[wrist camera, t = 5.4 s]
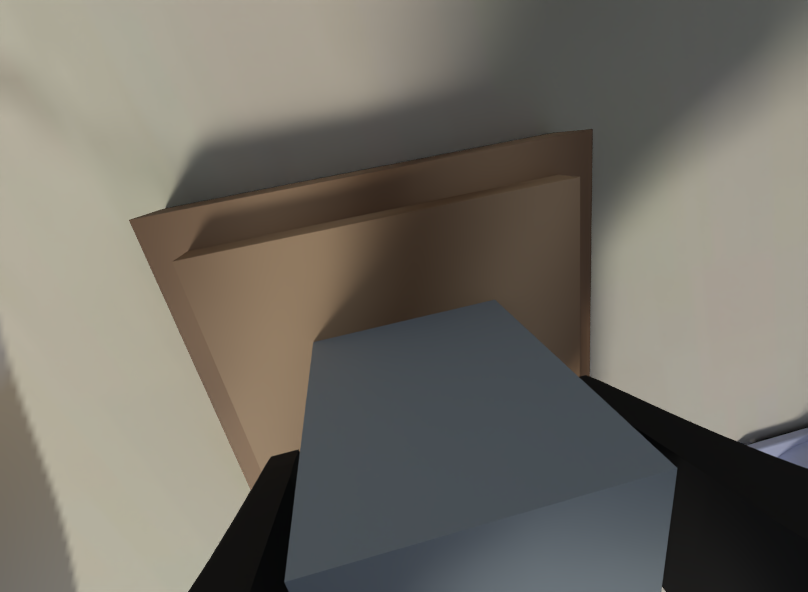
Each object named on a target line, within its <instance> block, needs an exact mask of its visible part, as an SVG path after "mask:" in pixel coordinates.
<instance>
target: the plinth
mask: <svg viewBox="0 0 808 592" xmlns="http://www.w3.org/2000/svg"><path fill="white" fill-rule="evenodd" d="M592 140H593V129H589V130H578V131H567V132H556V133H550V134H544V135H539V136H534V137H529V138H524V139H519V140H514V141H509V142H503V143H498V144H493V145H488V146H483V147H478V148H473V149H468V150H462V151H457V152H452V153H447V154H442V155H437V156H432V157H427V158H421V159H416V160H411V161H406V162H401V163H396V164H391V165H385V166H380V167H375V168H370V169H365V170H360V171H355V172H350V173H344V174H339V175H334V176H329V177H324V178H319V179H314V180H309V181H303V182H298V183H293V184H288V185H283V186H278V187H273V188H268V189H262V190H257V191H252V192H247V193H242V194H237V195H232V196H227V197H221V198H216V199H211V200H206V201H201V202H196V203H191V204H186V205H180V206H175V207H170V208H165V209H162V210H158V211H155V212H152V213H149V214H146V215H143V216H140V217H137V218H134V219H131V220H129V221H130V223H131V226H132V228H133V230H134V232H135V234H136V237H137V239H138V241H139V243H140V245H141V248H142V250H143V252H144V254H145V257H146V259H147V261H148V263H149V265H150V268H151V270H152V272H153V274H154V277H155V279H156V281H157V283H158V285H159V288H160V290H161V292H162V294H163V296H164V299H165V301H166V303H167V305H168V308H169V310H170V312H171V314H172V316H173V319H174V321H175V323H176V325H177V328H178V330H179V332H180V334H181V336H182V339H183V341H184V343H185V345H186V347H187V350H188V352H189V354H190V356H191V359H192V361H193V363H194V365H195V367H196V370H197V372H198V374H199V376H200V379H201V381H202V383H203V385H204V387H205V390H206V392H207V394H208V396H209V398H210V401H211V403H212V405H213V407H214V410H215V412H216V414H217V416H218V418H219V421H220V423H221V425H222V427H223V430H224V432H225V434H226V436H227V438H228V441H229V443H230V445H231V447H232V450H233V452H234V454H235V456H236V458H237V461H238V463H239V465H240V467H241V469H242V472H243V474H244V476H245V478H246V481H247V483H248V485H249V487H250V489H252V487H253V486H254V484H255V482H256V480H257V479H258V477H259V475H260V474H261V472H262V470H263V468H264V467H265V465H266V463H267V462H268V460H269V459H270V457H271V456H275V455H279V454H283V453H287V452H290V451H294V450H298V449H299V451H300V447H301V439H302V431H303V422H304V414H305V406H306V397H307V389H308V381H309V372H310V364H311V356H312V348H313V342H316V341H320V340H324V339H329V338H333V337H337V336H342V335H346V334H350V333H354V332H359V331H363V330H367V329H371V328H376V327H380V326H384V325H389V324H393V323H397V322H401V321H406V320H410V319H414V318H418V317H423V316H427V315H431V314H436V313H440V312H444V311H448V310H453V309H457V308H461V307H465V306H470V305H474V304H478V303H483V302H487V301H491V300H496V301H497V302H498V303H499V304H500V305H501V306H502V307H503V308H505V309H506V310H507V311H508V312H509V313H510V314H511V315H512V316H513V317H514V318H515V319H516V320H518V321H519V322H520V323H521V324H522V325H523V326H524V327H525V328H526V329H527V330H528V331H529V332H531V333H532V334H533V335H534V336H535V337H536V338H537V339H538V340H539V341H540V342H541V343H542V344H544V345H545V346H546V347H547V348H548V349H549V350H550V351H551V352H552V353H553V354H554V355H555V356H557V357H558V358H559V359H560V360H561V361H562V362H563V363H564V364H565V365H566V366H567V367H568V368H570V369H571V370H572V371H573V372H574V373H575V374H576V375H577V376H578V377H580V376H584V375H587V376H589V375H590V297H591V218H592Z"/></svg>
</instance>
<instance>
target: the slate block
mask: <svg viewBox="0 0 808 592" xmlns="http://www.w3.org/2000/svg"><path fill="white" fill-rule="evenodd" d="M676 476H677V467H676V466H675V465H674V464H672V463H671V462H670V461H669V460H668V459H667V458H666V457H665V456H664V455H663V454H662V453H661V452H659V451H658V450H657V449H656V448H655V447H654V446H653V445H652V444H651V443H650V442H649V441H648V440H646V439H645V438H644V437H643V436H642V435H641V434H640V433H639V432H638V431H637V430H636V429H635V428H633V427H632V426H631V425H630V424H629V423H628V422H627V421H626V420H625V419H624V418H623V417H622V416H620V415H619V414H618V413H617V412H616V411H615V410H614V409H613V408H612V407H611V406H610V405H609V404H607V403H606V402H605V401H604V400H603V399H602V398H601V397H600V396H599V395H598V394H597V393H596V392H594V391H593V390H592V389H591V388H590V387H589V386H588V385H587V384H586V383H585V382H584V381H583V380H581V379H580V378H579V377H578V376H577V375H576V374H575V373H574V372H573V371H572V370H571V369H570V368H568V367H567V366H566V365H565V364H564V363H563V362H562V361H561V360H560V359H559V358H558V357H557V356H555V355H554V354H553V353H552V352H551V351H550V350H549V349H548V348H547V347H546V346H545V345H544V344H542V343H541V342H540V341H539V340H538V339H537V338H536V337H535V336H534V335H533V334H532V333H531V332H529V331H528V330H527V329H526V328H525V327H524V326H523V325H522V324H521V323H520V322H519V321H518V320H516V319H515V318H514V317H513V316H512V315H511V314H510V313H509V312H508V311H507V310H506V309H505V308H503V307H502V306H501V305H500V304H499V303H498V302H497V301H496V300H491V301H487V302H483V303H478V304H474V305H470V306H465V307H461V308H457V309H453V310H448V311H444V312H440V313H436V314H431V315H427V316H423V317H418V318H414V319H410V320H406V321H401V322H397V323H393V324H389V325H384V326H380V327H376V328H371V329H367V330H363V331H359V332H354V333H350V334H346V335H342V336H337V337H333V338H329V339H324V340H320V341H316V342H313V348H312V356H311V364H310V372H309V381H308V389H307V397H306V406H305V414H304V422H303V431H302V439H301V447H300V456H299V464H298V472H297V481H296V489H295V497H294V506H293V514H292V522H291V530H290V539H289V547H288V555H287V564H286V572H285V580H284V583H285V585H286V587H287V589H288V591H289V592H661V589H662V582H663V574H664V567H665V559H666V551H667V544H668V536H669V529H670V521H671V513H672V506H673V498H674V491H675V483H676Z"/></svg>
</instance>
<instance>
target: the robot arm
mask: <svg viewBox="0 0 808 592" xmlns="http://www.w3.org/2000/svg"><path fill="white" fill-rule="evenodd" d="M579 378H580V379H581V380H583V381H584V382H585V383H586V384H587V385H588V386H589V387H590V388H591V389H592V390H593V391H594V392H596V393H597V394H598V395H599V396H600V397H601V398H602V399H603V400H604V401H605V402H606V403H607V404H609V405H610V406H611V407H612V408H613V409H614V410H615V411H616V412H617V413H618V414H619V415H620V416H622V417H623V418H624V419H625V420H626V421H627V422H628V423H629V424H630V425H631V426H632V427H633V428H635V429H636V430H637V431H638V432H639V433H640V434H641V435H642V436H643V437H644V438H645V439H646V440H648V441H649V442H650V443H651V444H652V445H653V446H654V447H655V448H656V449H657V450H658V451H659V452H661V453H662V454H663V455H664V456H665V457H666V458H667V459H668V460H669V461H670V462H671V463H672V464H674V465H675V466H676V467H677V476H676V483H675V491H674V498H673V506H672V513H671V521H670V529H669V536H668V544H667V551H666V559H665V567H664V574H663V582H662V587H663V588H664V590H665V591H666V592H808V428H805V429H801V430H798V431H794V432H791V433H787V434H784V435H780V436H777V437H773V438H770V439H767V440H763V441H760V442H756V443H753V444H749V445H744V444H742V443H739V442H737V441H734V440H732V439H729V438H727V437H724V436H722V435H720V434H717V433H715V432H713V431H710V430H708V429H706V428H703V427H701V426H699V425H696V424H694V423H692V422H689V421H687V420H685V419H683V418H680V417H678V416H676V415H674V414H671V413H669V412H667V411H665V410H663V409H660V408H658V407H656V406H654V405H652V404H649V403H647V402H645V401H643V400H641V399H639V398H636V397H634V396H632V395H630V394H628V393H626V392H623V391H621V390H619V389H617V388H615V387H612V386H610V385H608V384H606V383H604V382H601V381H599V380H597V379H594V378H592V377H590V376H587V375H584V376H580V377H579ZM299 456H300V451H299V449H298V450H294V451H290V452H287V453H283V454H279V455H275V456H271V457H270V459H269V460H268V462H267V463H266V465H265V467H264V468H263V470H262V472H261V474H260V475H259V477H258V479H257V480H256V482H255V484H254V486H253V487H252V489H251V491H250V493H249V494H248V496H247V498H246V500H245V501H244V503H243V505H242V506H241V508H240V510H239V511H238V513H237V515H236V517H235V518H234V520H233V522H232V523H231V525H230V527H229V528H228V530H227V531H226V533H225V535H224V536H223V538H222V540H221V541H220V543H219V545H218V546H217V548H216V549H215V551H214V553H213V554H212V556H211V558H210V559H209V561H208V562H207V564H206V565H205V567H204V569H203V570H202V572H201V573H200V575H199V576H198V578H197V579H196V581H195V582H194V584H193V585H192V587H191V588H190V590H189V591H188V592H289V591H288V589H287V587H286V585H285V583H284V580H285V572H286V564H287V555H288V547H289V539H290V530H291V522H292V514H293V506H294V497H295V489H296V481H297V472H298V464H299Z"/></svg>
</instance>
